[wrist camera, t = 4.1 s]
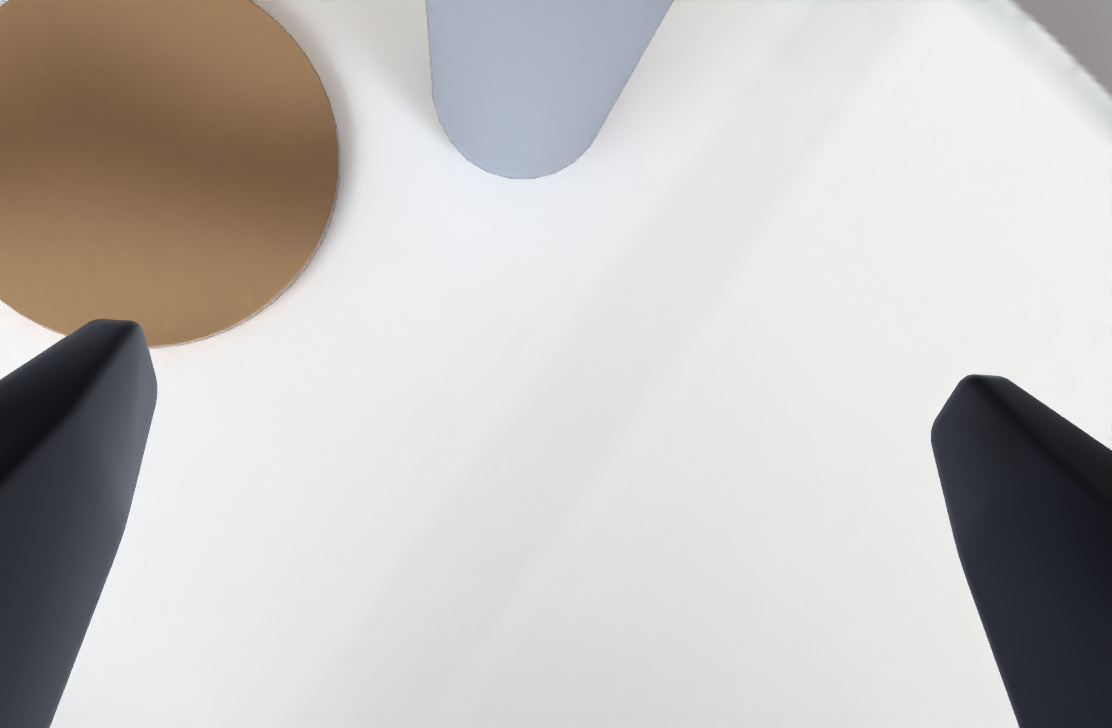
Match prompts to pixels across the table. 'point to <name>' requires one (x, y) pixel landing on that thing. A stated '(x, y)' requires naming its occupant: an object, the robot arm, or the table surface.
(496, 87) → the beverage can
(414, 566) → the table surface
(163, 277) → the cork coaster
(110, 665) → the table surface
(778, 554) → the table surface
